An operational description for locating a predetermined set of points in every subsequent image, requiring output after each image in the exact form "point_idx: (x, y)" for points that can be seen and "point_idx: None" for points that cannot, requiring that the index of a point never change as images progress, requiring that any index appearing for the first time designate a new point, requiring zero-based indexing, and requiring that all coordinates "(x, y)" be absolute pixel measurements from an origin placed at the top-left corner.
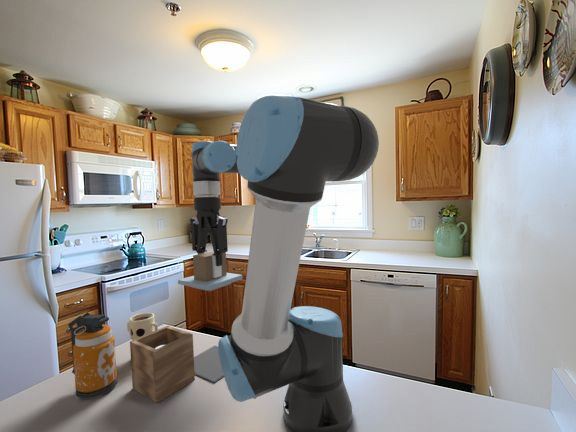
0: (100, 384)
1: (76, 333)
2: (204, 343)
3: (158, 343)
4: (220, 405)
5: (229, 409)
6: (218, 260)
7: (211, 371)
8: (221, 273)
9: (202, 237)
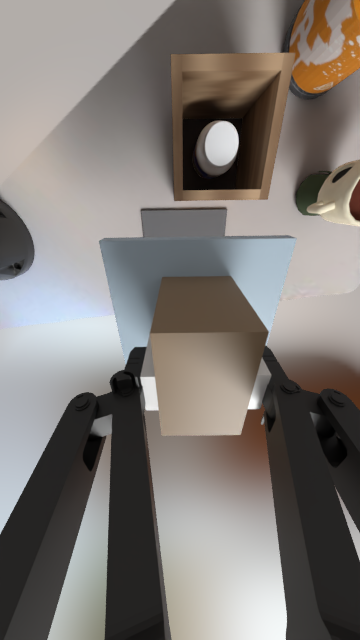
0: (298, 17)
1: None
2: None
3: (255, 163)
4: (90, 174)
5: (73, 175)
6: (127, 365)
7: (166, 228)
8: None
9: (292, 515)
